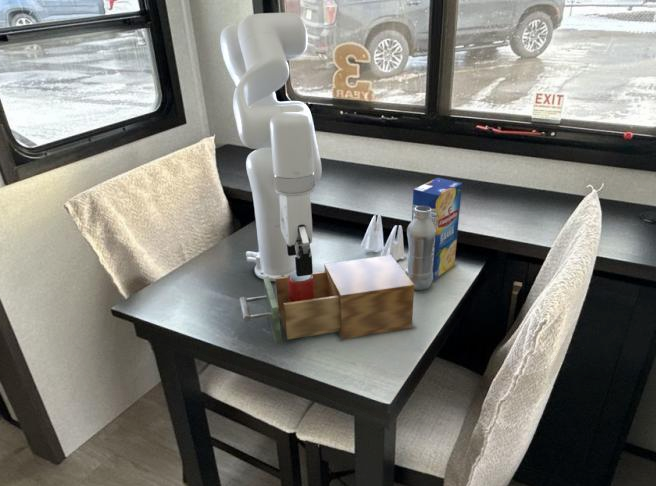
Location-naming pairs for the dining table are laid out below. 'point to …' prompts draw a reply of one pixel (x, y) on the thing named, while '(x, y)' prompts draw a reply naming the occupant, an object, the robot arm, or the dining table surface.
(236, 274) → the dining table surface
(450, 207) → the blue tall box
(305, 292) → the can
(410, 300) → the cabinet
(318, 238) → the dining table surface
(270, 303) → the drawer
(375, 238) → the shaker set
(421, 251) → the silver bottle
